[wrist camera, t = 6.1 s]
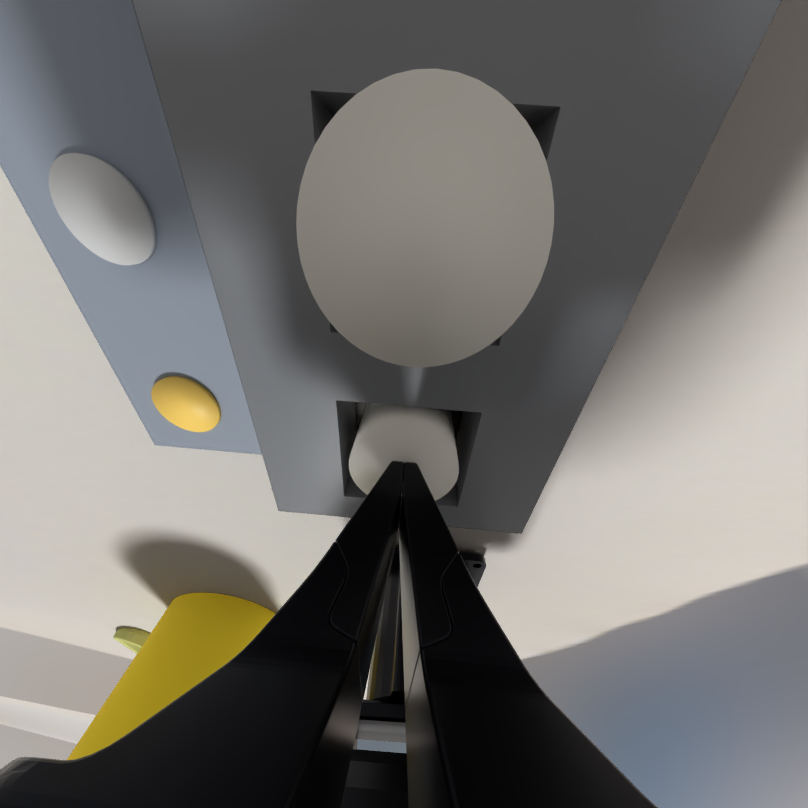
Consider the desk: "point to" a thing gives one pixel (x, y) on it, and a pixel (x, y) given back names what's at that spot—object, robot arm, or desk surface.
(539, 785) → the robot arm
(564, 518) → the desk surface
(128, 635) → the key
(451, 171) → the button middle
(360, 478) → the button
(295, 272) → the button panel
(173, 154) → the pattern card
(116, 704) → the yellow cylinder with hole
